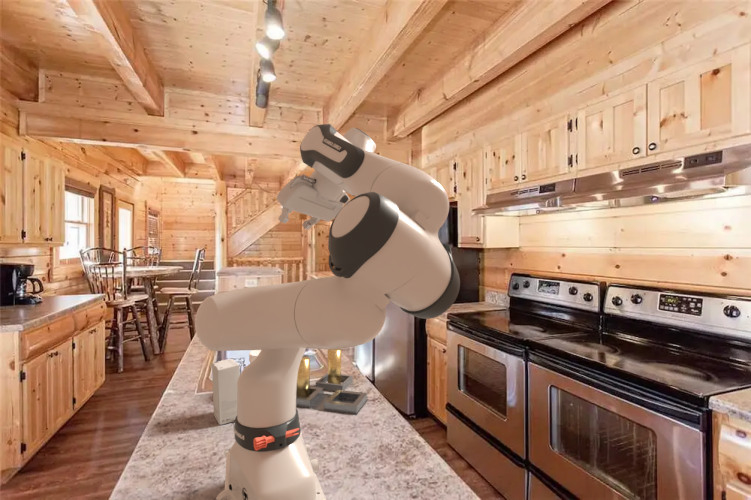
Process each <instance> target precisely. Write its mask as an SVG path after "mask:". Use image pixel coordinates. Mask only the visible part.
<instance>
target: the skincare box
mask: <svg viewBox="0 0 751 500" xmlns="http://www.w3.org/2000/svg"><path fill="white" fill-rule="evenodd" d="M211 374H212V376H211V377H212V378H211V379H212V401H213V402H212V403H213V405H212V406H213V416H214V417H215V419H216V422H217V423H218V425H219V426H223V425H225V424H229V423H235V418H236V416H237V381H238V378H239V376H240V374H241V373H240V364H239V363H238V362H237V361H235V359H233V358H229V359H223V360H219V361H214V362H211Z"/></svg>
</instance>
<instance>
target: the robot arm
mask: <svg viewBox="0 0 751 500" xmlns="http://www.w3.org/2000/svg"><path fill="white" fill-rule="evenodd" d="M376 149H377V144H376V142H375V141H374V139H373V138H372V137H370V136H369V135H368V134H367V133H366V132H364V131H363V130H361V129H359V128H358V127H350V129H349V130H347V131H346V132H345V133H344V134H343V135H342V134H341V133H339V131H338V130H337V129H336V128H334V126H333V125H332V124H329V123H324V124H317V125H314V126H313V127H312V128H310V130H309V131H308V132H307V133H306V134H305V135H304V137H303V138H302V141H301V143H300V146H299V153H300V157H301V161H302V163H303V164H305V165H307V166H308V167H309V168H311V169H313V171H312V173H311V174H310V176H308V175H306V174H300V175H296V176H295V177H294V178H292V179H291V180H290V181H289V182H287V184H285V186H284V187H282V189H281V190H279V192H278V193H277V196H276V200H277V201H278V203H279V204H280V205H281V207H282V209H281V214H280V215H279V216H278V221H279V222H280V223H281V224H282V223H283V224H287V222H288V221H289V220H290V218H289V214H292V212H293V211H294V212H297V213H300V214H302V215H306V216H310V218H309V219H308V220H304V221H303V223H302V227H303V229H305V230H307V231H308V230H310V229H311V228H312V226H314V225H317V224H318V223H319V222H320V221H325V222H327V223H328V222H331V221H332V222H331V225H330V227H329V233H328V243H327V244H328V245H327V246H328V247H327V248H328V253H329V256H328V267H329V269H330V271H331V273H332V274H333V275H332V276H325V277H317V278H313V279H311V278H310V279H306V280H301V281H293V282H285V283H275V284H269V285H261V286H253V287H251V286H250V287H246V288H244V287H243V288H237V289H232V290H228V291H227V290H226V291H224V292H221V293H220V292H219V293H217V294H212V295H210V296H207V297H206V298H204V300H203V301H202V302H201V303H200V305H199V307H198V308H197V311H196V314H195V318H194V329H195V330H194V331H195V333H196V335H197V339H199V341H200V343H201V344H202V345H203V346H204V347H205V348H207V349H208V350H209V351H211V352H231V351H233V352H234V351H238V352H239V351H252V350H261V352H260V353H259V355H258V356H257V358H256V359H255V360H254V361H253V362H251V363H250V362H249V363H248V365H246V366H245V367H244V369H242V370H241V373H240V376H239V378H238V381H237V416H236V418H235V422H234V425H233V432H234V443H233V444H232V447H230V449H229V450H228V452H227V453H226V455H225V456H226V459H225V475H224V476H225V479H224V489H223V490H222V491H220V492H219V493H218V494H217V496H216V498H215V500H327V498H326V495H325V494H324V493H325V492H324V491H323V488H322V486H321V483H320V481H319V479H318V476H317V474H316V473H318V472H320V465H319V460H318V459H317V458H314V459H310V457H309V452H310V445H309V443H308V444H307V443H306V444H305V441H304V438H303V433H302V429H301V420H300V415H299V411H298V409H297V407H296V390H297V375H298V370H299V366H300V362H301V359H302V357H304V354H305V352H306V349H317V350H328V349H341V350H343V349H347V348H348V349H349V348H354V347H357V346H361V345H362V346H363V345H365V344H368V343H369V342H371V341H373V340H374V339H375V338H376V337H377V336H378V335H379V334H380V333H381V331H382V329H383V327H384V325H385V323H386V315H387V308H386V307H387V305H389V304H390V303H393V304H395V305H396V306H398V307H399V308H400V309H401V310H402V311H403V312H405V313H407V315H411V316H412V317H416V318H419V319H424V320H428V319H434V318H437V317H440V316H441V315H443V314H444V313H445V312H447V311H448V310H449V309H450V308H451V307H452V305H453V304H454V303H455V302H456V299H457V298H458V295H459V293H460V288H461V278H460V273H459V271H458V268H457V265H456V263H455V262H454V258H453V253H452V248H451V246H450V245H449V244H446V243H442V242H441V241H440V240H441V239H439V231H440V229H441V227H442V226H443V225H444V224H445V223H446V220H447V218H448V215H449V212H450V199H449V195H448V193H447V191H446V189H445V188H444V186H442V184H441V183H440V182H438V181H437V179H435V178H434V177H432V176H431V175H430V174H428V173H427V172H425V171H424V170H422V169H419V168H418V167H415V166H413V165H410V164H407V163H404V162H402V161H399V160H395V159H392V158H389V157H386V156H383V155H381V154H378V153H375V151H376ZM349 195H351V196H353V198H352V199H351V198H350V197H349Z"/></svg>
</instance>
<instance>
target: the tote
mask: <svg viewBox="0 0 751 500" xmlns="http://www.w3.org/2000/svg"><path fill="white" fill-rule="evenodd" d="M353 381H354V380H353V375H348V374H341V385H340V384H332V383H328V372H326V373H325V374H324V375H323V376H322V377H320V378H319V379H318V380H317V381H316V382H315V387H320V388H324V391H327V392H328V391H330V392H335V391H336V390H345V391H346V389H348V387H349V386H350V385H351V384H352V383H353Z"/></svg>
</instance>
